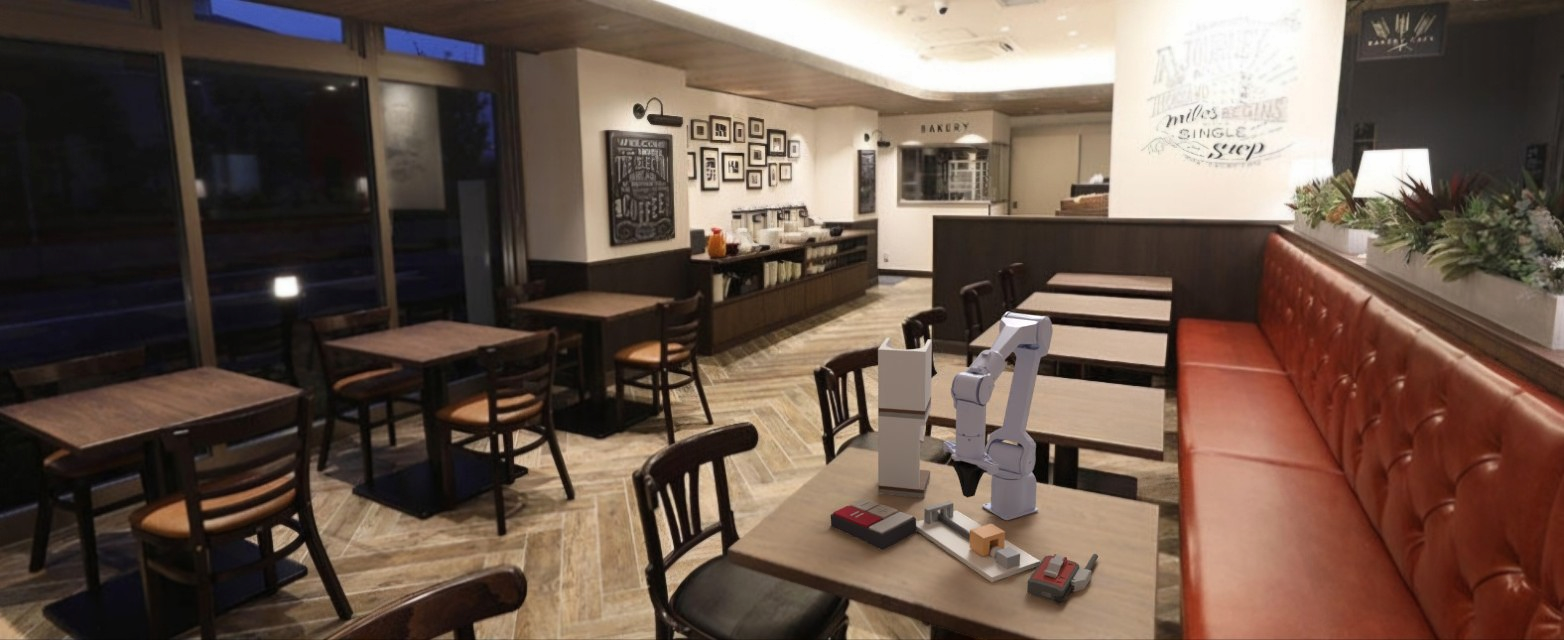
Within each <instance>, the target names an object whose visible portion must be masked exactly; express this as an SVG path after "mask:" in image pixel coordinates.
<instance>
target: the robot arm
mask: <svg viewBox="0 0 1564 640" xmlns="http://www.w3.org/2000/svg"><path fill="white" fill-rule="evenodd" d="M1000 318H1001V319H1000V320H999V327H998V328H999V330H998V331H999V332H998V333H999V334H998V335H997V337H996V338H995V340H994V342H993V344H992V346H991V347H990V349H984V350H982V351H981V352H980V353H979V354H978V356H977V357H976V358H975V360H974V361H972V363H971V364H970V365H969V367H968V368H967V370H965V371H960V372H959V373H957V374H955V376H954V377H953V380H952V383H951V387H950V394H951V398H952V400H953V407H954V408H953V409H955V410H956V411H955V415H956V416H955V441H954V440H947V441H943V442H942V444H943V447H942V449H943V450H942V451H943V452H945V453H950V454H951V459H952V460H953V461H952V462H951V464H952V465H951V466H952V468H953V469H954V471H955V473H956V476H957V477H958V481H959V485H960V490H961V493H962V496H963V497H965V498H971V497H975V495H976V493H977V489H978V486H979V484H980V481H981V480H982V476H984V473H985V472H987V475H990V476H991V486H990V488H991V489H990V490H991V491H990V502H987V503H983V504H982V505H981V506H982V508H983V509H985V510H987V511H988V512H991V513H992V514H994V515H995V516H997V517H999V518H1001V519H1002V520H1004V521H1010V520H1014V519H1018V518H1020V517H1024V516H1027V515H1030V514H1033V513H1036V512H1039V508H1038V507H1036V506H1037V505H1036V504H1037V503H1036V502H1037V486H1038V485H1037V484H1038V483H1037V479H1036V476H1035V475H1034V473H1033V470H1034V469H1035V465H1036V448H1037V443H1036V441H1034V439H1033V438H1032V437H1031V436H1030V434H1028V432H1027V425H1028V422H1029V415H1030V412H1031V411H1030V410H1031V406H1032V401H1033V398H1034V397H1033V396H1034V391H1035V390H1034V389H1035V388H1036V383H1037V382H1036V380H1037V376H1038V371H1039V367H1040V362H1041V358H1043V357H1045V356H1047V355H1048V354H1049V350H1050V347H1051V341H1052V337H1053V331H1054V330H1053V324H1052V321H1051V318H1050V317H1049V316H1045V315H1043V316H1041V315H1033V314H1025V313H1017V312H1012V311H1006V312H1005V313H1004V314H1003V315H1002V316H1001V317H1000ZM1012 353H1014V355H1015V357H1016V359H1015V365H1014V369H1013V373H1012V379H1011V383H1010V388H1009V394H1008V399H1007V402H1006V408H1005V412H1004V419H1003V422H1002V426H1001V427H999V428H998V429H996V430H994V431H993V432H990V434H989V437H988V440H987V444H986V424H987V423H986V422H987V421H986V420H987V419H986V418H987V404H988V403H989V402H990V400H991V397H992V394H993V391H994V388H995V383H996V381H997V380H998V379H999V377H1000V376H1001V374H1002V373H1003V371H1005V368H1006V359H1007V358H1008V357H1009V356H1010V355H1011V354H1012ZM1004 441H1008V442H1004ZM1009 442H1012V443H1009ZM1013 443H1017V444H1019V445H1017V444H1013Z"/></svg>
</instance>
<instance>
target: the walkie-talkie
mask: <svg viewBox="0 0 1564 640" xmlns="http://www.w3.org/2000/svg"><path fill="white" fill-rule="evenodd" d="M1098 558H1099V555H1098V554H1097V553H1093V554H1092V556H1091V557H1090V559H1089V560H1088V562H1087V564H1086V565H1085V567H1084V568H1083V567H1080V565H1079V563H1077V562H1076V561H1073V560H1070V559H1068V557H1067V556H1065V555H1060V554H1056V553H1054V554H1053V555H1051V554H1050V555H1044V556H1043V558H1042V560H1040V564H1039V566H1038V567H1035V568H1036V569H1035V570H1034V571H1033V573H1032V574H1031V576H1030V577H1029V578H1028V580H1027V591H1026V592H1027V593H1028V595H1030V594H1031V595H1030V596H1033V597H1035V598H1036V597H1037V598H1040V599H1043V600H1045V601H1046V600H1047V601H1051V602H1053V603H1056V602H1057V603H1056V604H1060V605H1061V604H1063V603H1065V601H1066V599H1067V598H1068V597H1069V594H1070V593H1071V592H1078V591H1081V590H1085V589H1086V587H1087V585H1088V583H1090V582H1091V580H1092V569H1093V567H1094V565H1096V564H1095V563H1096V562H1097V560H1098Z"/></svg>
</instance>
